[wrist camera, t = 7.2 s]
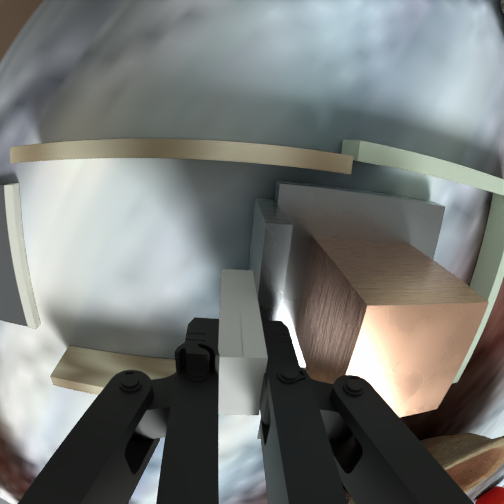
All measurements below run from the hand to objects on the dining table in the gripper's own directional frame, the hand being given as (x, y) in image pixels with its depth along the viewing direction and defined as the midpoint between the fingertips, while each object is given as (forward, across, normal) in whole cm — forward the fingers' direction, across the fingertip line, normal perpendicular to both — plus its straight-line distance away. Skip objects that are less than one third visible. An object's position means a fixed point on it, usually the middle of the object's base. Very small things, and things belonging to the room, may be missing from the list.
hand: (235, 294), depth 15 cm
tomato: (+3, +78, -71) cm, 106 cm away
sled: (+3, +7, 0) cm, 7 cm away
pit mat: (+3, -18, 0) cm, 18 cm away
